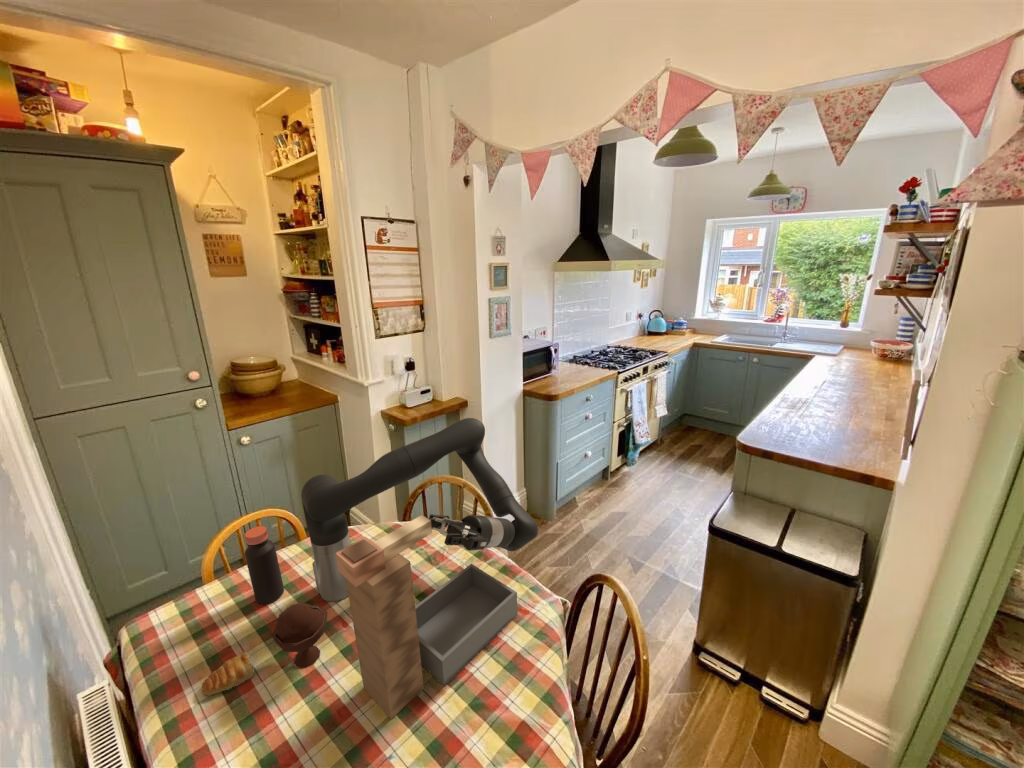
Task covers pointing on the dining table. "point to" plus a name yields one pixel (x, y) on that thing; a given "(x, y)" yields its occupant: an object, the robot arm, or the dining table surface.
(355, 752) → the dining table surface
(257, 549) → the bottle
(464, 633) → the bin
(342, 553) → the catapult arm
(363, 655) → the tower
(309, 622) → the ice cream bowl
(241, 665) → the pastry
